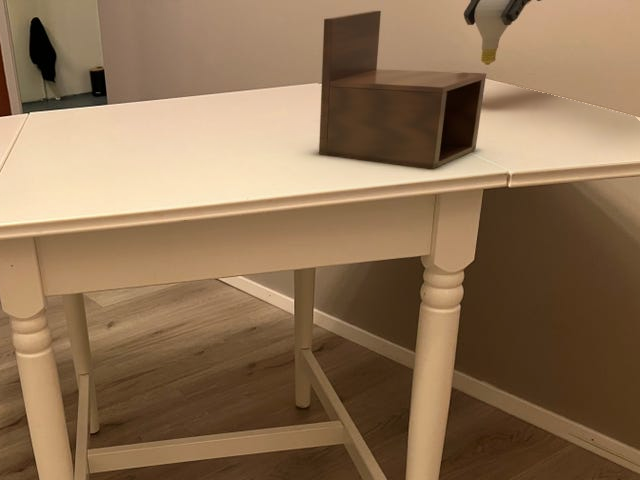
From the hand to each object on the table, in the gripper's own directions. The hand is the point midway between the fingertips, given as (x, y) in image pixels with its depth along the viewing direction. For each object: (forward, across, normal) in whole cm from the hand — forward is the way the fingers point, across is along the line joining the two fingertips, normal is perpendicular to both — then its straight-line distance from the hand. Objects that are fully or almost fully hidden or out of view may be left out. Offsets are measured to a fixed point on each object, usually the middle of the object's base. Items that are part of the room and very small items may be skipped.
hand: (486, 20), depth 105 cm
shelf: (+29, +9, -12) cm, 33 cm away
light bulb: (+3, 0, +6) cm, 7 cm away
